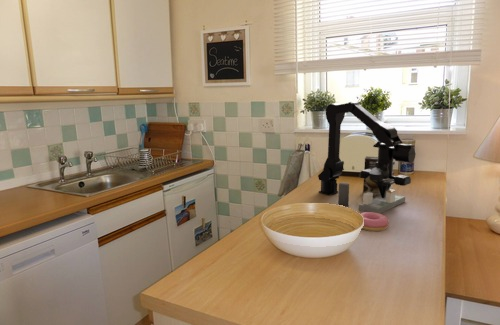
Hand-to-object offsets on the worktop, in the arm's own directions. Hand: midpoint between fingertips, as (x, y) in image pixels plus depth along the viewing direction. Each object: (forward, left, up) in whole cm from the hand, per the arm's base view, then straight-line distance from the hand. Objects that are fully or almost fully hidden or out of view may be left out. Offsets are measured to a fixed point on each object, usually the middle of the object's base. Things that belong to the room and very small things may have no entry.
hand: (383, 197), depth 146 cm
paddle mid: (+3, 0, -1) cm, 3 cm away
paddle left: (-2, -8, -1) cm, 8 cm away
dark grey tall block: (-11, -11, -3) cm, 16 cm away
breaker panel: (0, 0, -3) cm, 3 cm away
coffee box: (-11, +13, -3) cm, 17 cm away
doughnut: (+8, -23, -4) cm, 25 cm away
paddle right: (-2, +8, -1) cm, 8 cm away
